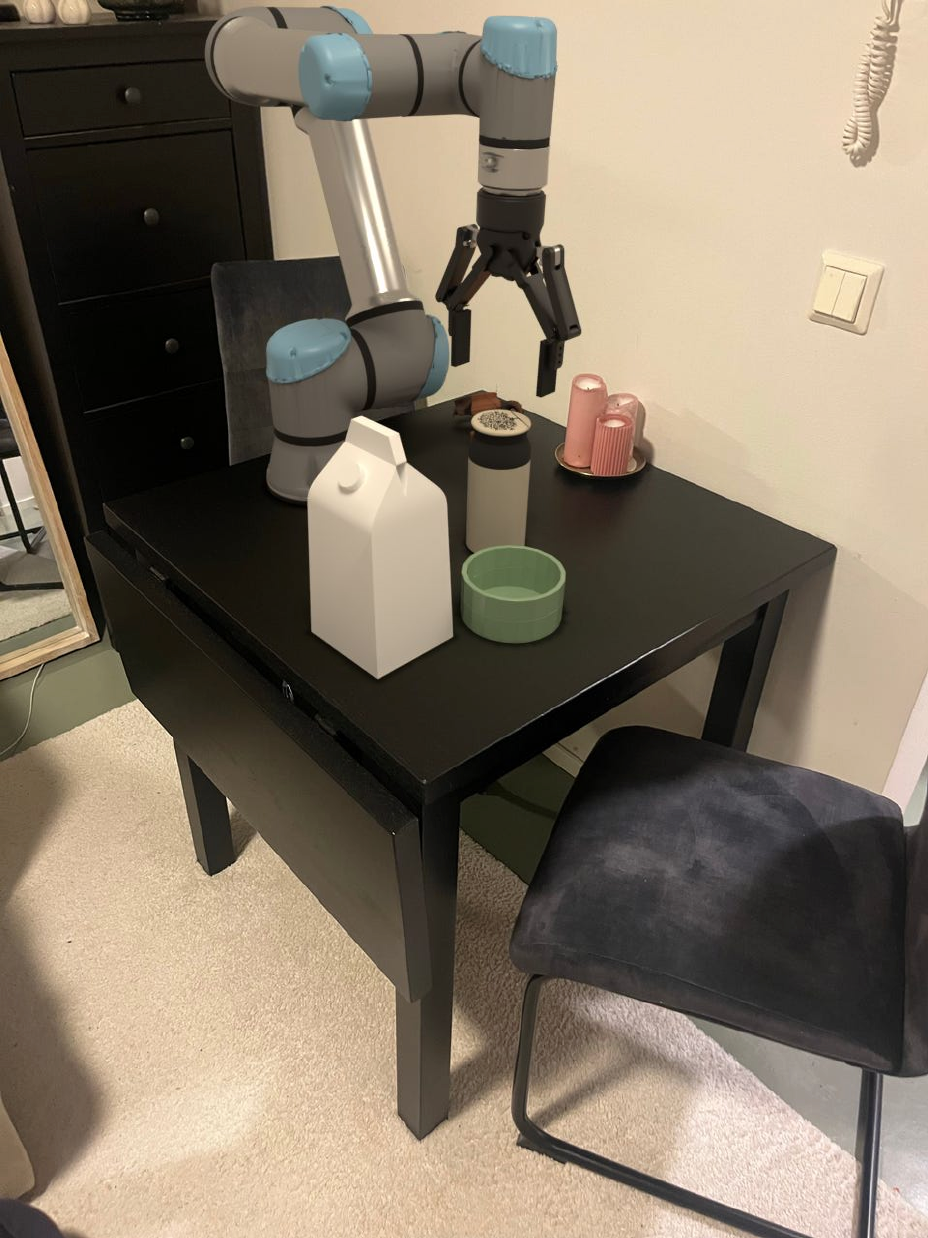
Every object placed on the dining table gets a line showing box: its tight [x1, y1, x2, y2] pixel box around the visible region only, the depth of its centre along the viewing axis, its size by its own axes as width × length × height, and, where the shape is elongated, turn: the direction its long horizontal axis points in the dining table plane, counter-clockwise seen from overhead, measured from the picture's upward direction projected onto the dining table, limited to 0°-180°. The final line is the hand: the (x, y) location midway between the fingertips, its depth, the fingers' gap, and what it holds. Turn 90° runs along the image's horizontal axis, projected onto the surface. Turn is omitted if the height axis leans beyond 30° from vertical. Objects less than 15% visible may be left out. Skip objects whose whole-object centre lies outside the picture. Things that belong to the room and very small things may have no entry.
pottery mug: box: [451, 391, 525, 439], centre depth 152 cm, size 12×10×8 cm
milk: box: [307, 415, 454, 680], centre depth 98 cm, size 12×12×26 cm
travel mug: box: [465, 409, 532, 554], centre depth 118 cm, size 8×8×18 cm
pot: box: [460, 545, 567, 644], centre depth 108 cm, size 12×12×6 cm
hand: (501, 378), depth 110 cm, fingers open, 13 cm apart
